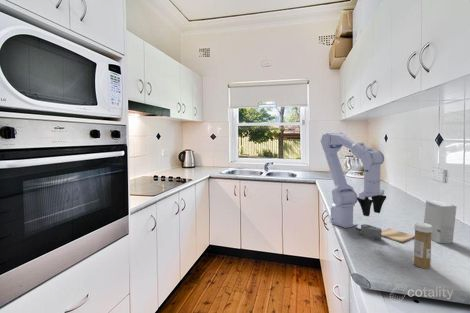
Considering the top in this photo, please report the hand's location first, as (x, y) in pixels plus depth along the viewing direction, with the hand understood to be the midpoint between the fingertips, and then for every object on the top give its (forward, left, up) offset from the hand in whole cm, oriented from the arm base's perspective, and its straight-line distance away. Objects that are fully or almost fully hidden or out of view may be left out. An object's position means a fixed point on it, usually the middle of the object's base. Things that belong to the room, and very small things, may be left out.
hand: (371, 214), depth 105 cm
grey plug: (-1, 0, -9) cm, 10 cm away
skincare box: (+16, +19, -10) cm, 27 cm away
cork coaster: (+5, +9, -10) cm, 14 cm away
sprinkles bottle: (+22, -9, -10) cm, 26 cm away
